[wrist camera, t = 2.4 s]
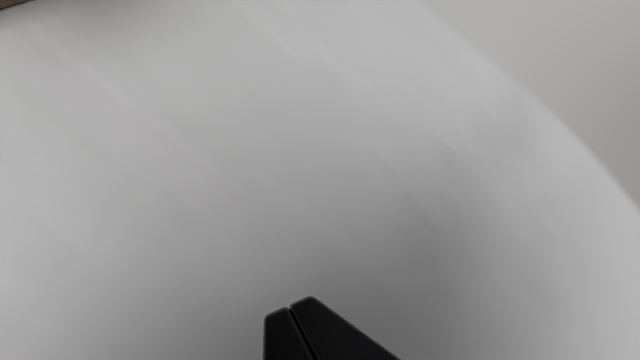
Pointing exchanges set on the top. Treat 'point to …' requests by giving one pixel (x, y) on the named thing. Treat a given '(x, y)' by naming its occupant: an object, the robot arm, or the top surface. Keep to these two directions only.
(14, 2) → the wooden display stand
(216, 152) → the top surface
